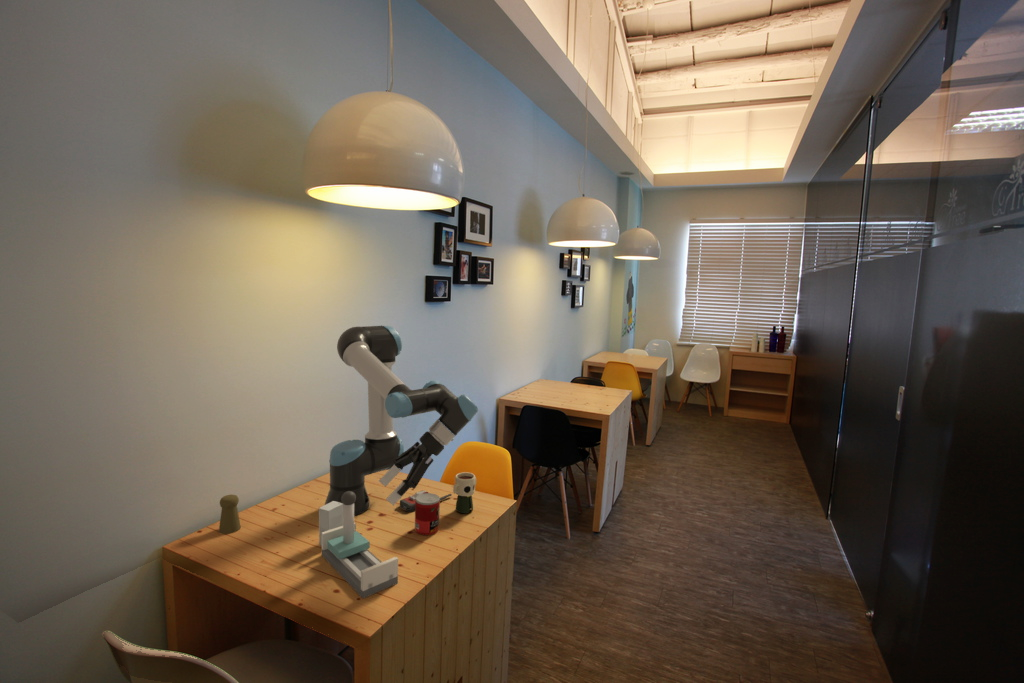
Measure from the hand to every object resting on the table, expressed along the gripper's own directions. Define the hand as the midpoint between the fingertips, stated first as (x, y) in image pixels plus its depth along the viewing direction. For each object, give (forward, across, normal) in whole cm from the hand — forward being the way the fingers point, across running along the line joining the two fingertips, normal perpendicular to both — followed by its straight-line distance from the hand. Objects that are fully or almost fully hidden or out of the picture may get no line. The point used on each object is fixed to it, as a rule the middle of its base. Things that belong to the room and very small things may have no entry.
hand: (385, 492), depth 140 cm
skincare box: (+24, +12, -3) cm, 27 cm away
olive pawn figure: (+44, +31, +18) cm, 57 cm away
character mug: (-8, +18, -35) cm, 41 cm away
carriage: (+18, 0, -3) cm, 18 cm away
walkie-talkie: (0, +29, -27) cm, 40 cm away
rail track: (+19, -5, -7) cm, 21 cm away
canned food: (+3, +9, -24) cm, 26 cm away
